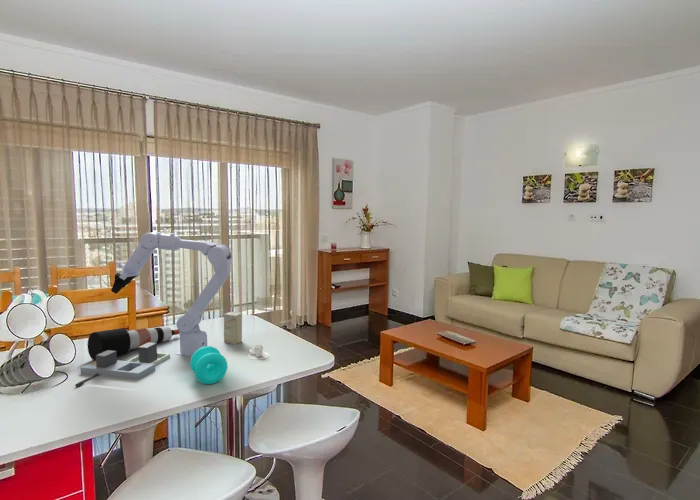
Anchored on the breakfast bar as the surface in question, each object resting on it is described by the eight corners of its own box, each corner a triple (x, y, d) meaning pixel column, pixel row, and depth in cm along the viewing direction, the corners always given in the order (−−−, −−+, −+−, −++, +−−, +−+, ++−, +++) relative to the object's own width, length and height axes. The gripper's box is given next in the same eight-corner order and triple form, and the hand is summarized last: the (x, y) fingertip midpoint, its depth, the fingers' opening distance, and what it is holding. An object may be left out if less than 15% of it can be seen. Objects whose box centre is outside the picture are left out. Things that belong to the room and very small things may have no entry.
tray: (170, 358, 148) (169, 353, 148) (151, 369, 138) (150, 364, 138) (145, 356, 150) (145, 351, 150) (125, 366, 140) (125, 361, 140)
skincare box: (223, 342, 166) (222, 314, 164) (230, 339, 170) (229, 311, 169) (236, 344, 164) (235, 315, 162) (242, 341, 168) (242, 312, 166)
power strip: (155, 370, 137) (154, 352, 136) (119, 391, 121) (118, 371, 121) (100, 365, 141) (99, 347, 141) (59, 385, 126) (57, 365, 125)
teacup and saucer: (247, 353, 155) (246, 343, 155) (267, 351, 157) (267, 341, 157) (248, 361, 147) (248, 351, 146) (270, 359, 149) (270, 348, 149)
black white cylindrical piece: (181, 348, 172) (189, 329, 169) (96, 366, 143) (105, 343, 140) (168, 333, 176) (176, 315, 174) (84, 348, 147) (92, 326, 145)
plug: (157, 359, 146) (156, 343, 146) (147, 364, 141) (146, 347, 141) (148, 358, 147) (148, 342, 146) (139, 363, 142) (138, 347, 142)
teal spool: (220, 370, 138) (219, 342, 136) (228, 381, 129) (228, 351, 128) (189, 377, 132) (188, 348, 131) (196, 388, 124) (195, 357, 123)
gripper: (134, 249, 155) (115, 277, 156) (120, 258, 142) (99, 289, 142) (151, 259, 157) (131, 287, 158) (139, 269, 143) (118, 299, 144)
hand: (117, 289), depth 150 cm, fingers open, 7 cm apart
